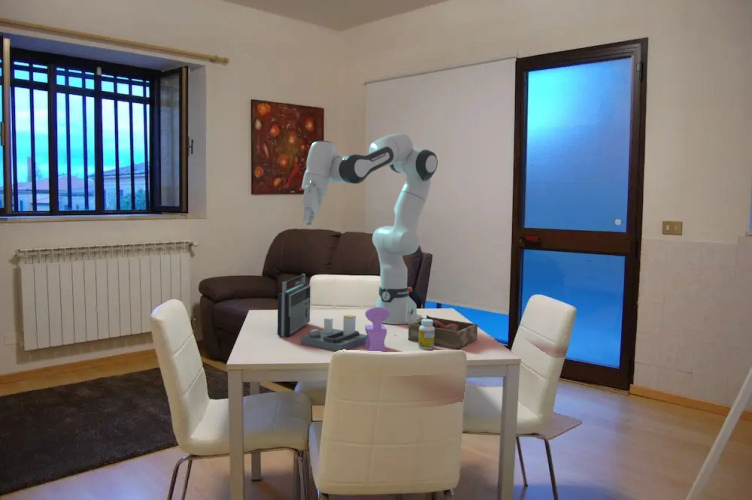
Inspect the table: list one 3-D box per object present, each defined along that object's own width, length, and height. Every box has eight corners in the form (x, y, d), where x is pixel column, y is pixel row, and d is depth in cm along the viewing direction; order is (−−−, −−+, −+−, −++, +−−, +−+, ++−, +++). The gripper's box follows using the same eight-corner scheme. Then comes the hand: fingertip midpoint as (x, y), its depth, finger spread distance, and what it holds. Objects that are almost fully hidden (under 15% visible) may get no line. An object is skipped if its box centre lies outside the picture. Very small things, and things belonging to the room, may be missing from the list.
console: (330, 334, 223) (330, 314, 223) (368, 342, 214) (369, 321, 213) (301, 344, 209) (301, 322, 208) (340, 352, 200) (341, 330, 199)
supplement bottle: (417, 345, 212) (418, 318, 211) (432, 345, 212) (433, 318, 211) (419, 349, 206) (420, 321, 205) (435, 349, 207) (436, 321, 206)
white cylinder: (347, 333, 215) (348, 314, 214) (355, 335, 213) (355, 315, 213) (343, 335, 213) (343, 315, 212) (350, 336, 211) (351, 317, 210)
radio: (291, 338, 217) (292, 283, 215) (277, 336, 218) (278, 282, 216) (311, 323, 241) (312, 274, 239) (299, 322, 242) (300, 273, 240)
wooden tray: (428, 332, 232) (429, 316, 232) (477, 340, 222) (477, 324, 221) (408, 340, 219) (408, 323, 218) (458, 349, 208) (459, 332, 208)
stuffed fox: (418, 318, 221) (443, 313, 228) (430, 347, 218) (455, 340, 225) (429, 310, 216) (454, 305, 223) (441, 339, 212) (466, 333, 219)
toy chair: (385, 345, 211) (386, 302, 210) (389, 351, 203) (391, 307, 201) (361, 345, 210) (362, 302, 208) (365, 352, 201) (366, 308, 200)
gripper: (320, 180, 201) (312, 221, 200) (326, 192, 222) (318, 229, 220) (302, 177, 201) (294, 217, 200) (309, 189, 222) (301, 226, 220)
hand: (307, 223), depth 210 cm, fingers open, 8 cm apart
